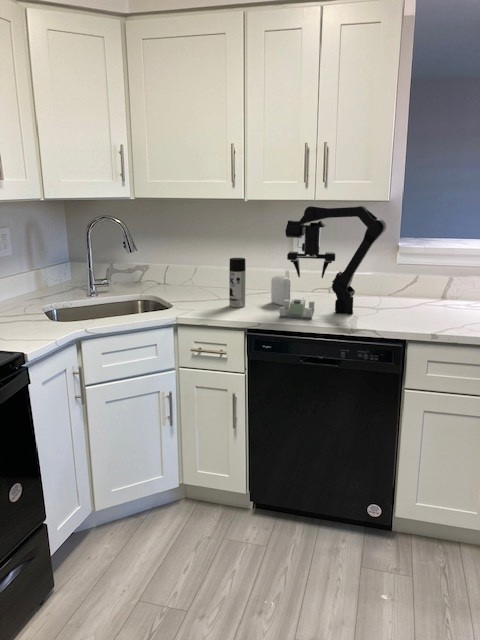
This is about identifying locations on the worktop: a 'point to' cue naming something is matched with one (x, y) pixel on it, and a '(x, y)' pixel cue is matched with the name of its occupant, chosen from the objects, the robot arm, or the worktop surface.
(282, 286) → the photo printer
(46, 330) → the worktop surface
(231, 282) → the spray can
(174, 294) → the worktop surface
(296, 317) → the chassis
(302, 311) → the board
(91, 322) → the worktop surface
